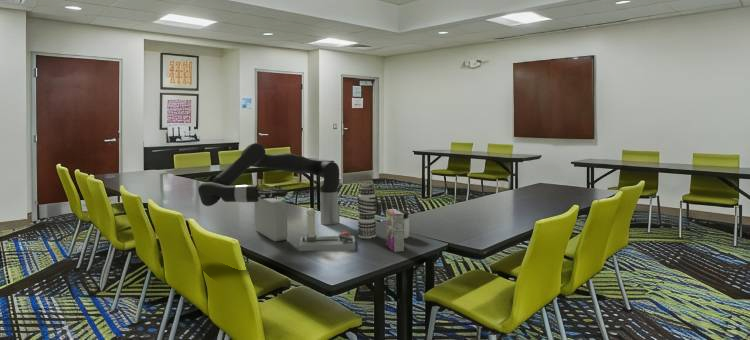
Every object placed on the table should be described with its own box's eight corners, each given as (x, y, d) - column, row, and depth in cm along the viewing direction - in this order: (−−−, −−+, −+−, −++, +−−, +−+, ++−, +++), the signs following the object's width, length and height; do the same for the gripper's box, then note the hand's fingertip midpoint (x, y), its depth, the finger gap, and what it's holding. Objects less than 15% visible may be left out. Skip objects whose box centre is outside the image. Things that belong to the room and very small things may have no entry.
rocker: (351, 240, 206) (352, 237, 206) (351, 242, 203) (352, 239, 203) (338, 236, 206) (339, 233, 206) (338, 239, 202) (339, 235, 202)
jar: (388, 238, 220) (388, 213, 219) (393, 234, 228) (392, 209, 227) (407, 239, 218) (407, 214, 216) (410, 235, 225) (411, 210, 224)
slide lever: (316, 238, 209) (315, 207, 208) (315, 240, 205) (315, 209, 203) (307, 238, 209) (306, 207, 208) (306, 241, 205) (305, 209, 203)
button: (346, 235, 214) (345, 231, 214) (351, 237, 212) (351, 232, 212) (339, 237, 212) (339, 232, 212) (345, 238, 209) (345, 234, 209)
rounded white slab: (292, 240, 218) (291, 202, 216) (276, 242, 214) (275, 203, 211) (269, 228, 241) (268, 193, 239) (255, 230, 237) (254, 195, 235)
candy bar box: (385, 245, 208) (385, 209, 206) (396, 244, 209) (396, 208, 207) (393, 252, 197) (393, 214, 195) (404, 251, 199) (404, 213, 197)
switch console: (354, 241, 216) (354, 232, 215) (355, 249, 202) (355, 240, 201) (301, 242, 214) (301, 233, 214) (298, 251, 200) (298, 241, 200)
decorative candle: (374, 233, 230) (374, 182, 227) (378, 238, 221) (378, 185, 218) (356, 234, 228) (355, 183, 225) (359, 239, 219) (358, 186, 216)
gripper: (243, 187, 195) (284, 186, 197) (249, 182, 210) (288, 182, 211) (243, 205, 196) (285, 204, 197) (250, 199, 210) (288, 198, 212)
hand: (286, 192), depth 204 cm, fingers open, 5 cm apart
